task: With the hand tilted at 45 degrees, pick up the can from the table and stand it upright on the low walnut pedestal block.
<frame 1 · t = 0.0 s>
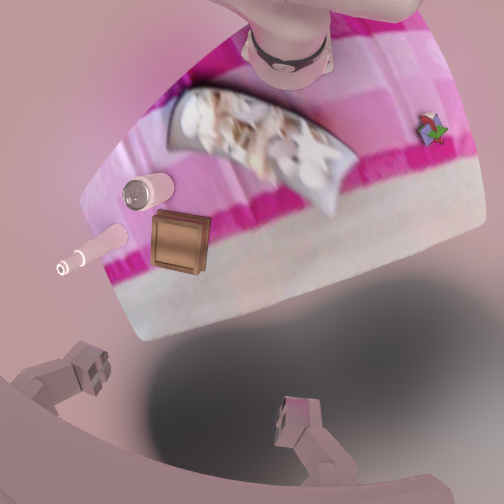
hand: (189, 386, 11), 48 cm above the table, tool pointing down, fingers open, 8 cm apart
pedestal: (182, 239, 60), on the table
pink bottle: (118, 234, 62), on the table
can: (162, 186, 57), on the table
geometric puzzle: (424, 131, 47), on the table
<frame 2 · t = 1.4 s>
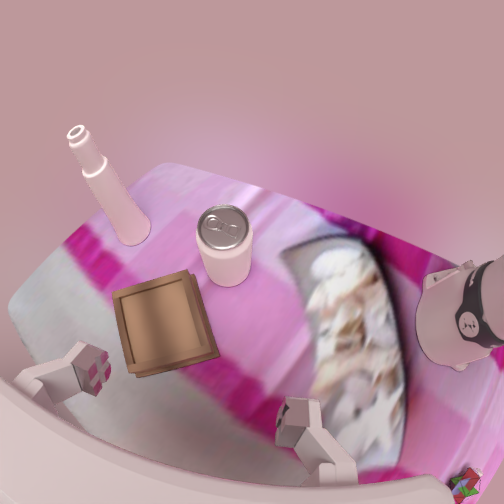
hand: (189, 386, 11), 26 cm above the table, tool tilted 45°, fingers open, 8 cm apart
pedestal: (166, 327, 36), on the table
pink bottle: (134, 230, 43), on the table
can: (228, 267, 41), on the table
geometric puzzle: (453, 482, 24), on the table
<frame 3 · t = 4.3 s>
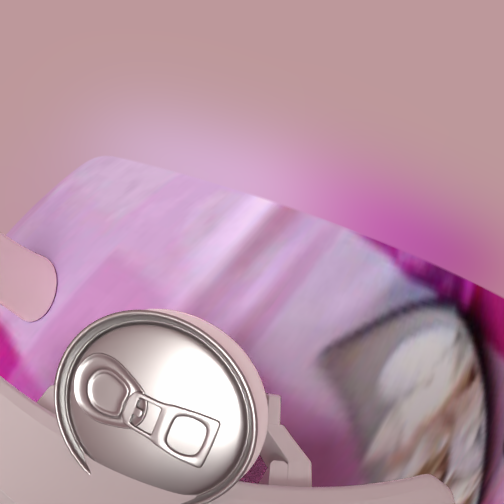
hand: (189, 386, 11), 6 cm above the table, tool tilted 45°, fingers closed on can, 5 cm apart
pink bottle: (34, 289, 18), on the table
can: (204, 390, 16), on the table, touching gripper
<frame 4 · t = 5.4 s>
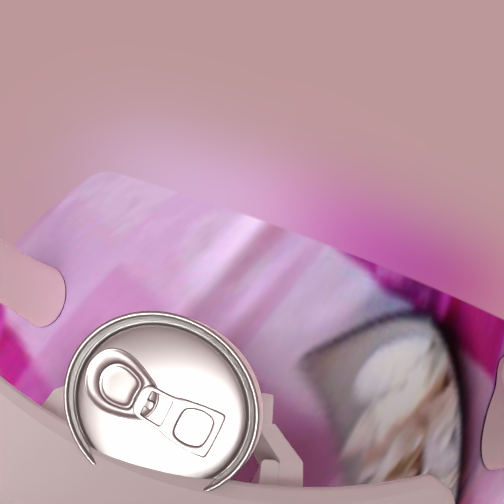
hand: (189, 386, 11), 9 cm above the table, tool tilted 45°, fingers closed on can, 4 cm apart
pink bottle: (44, 297, 20), on the table
can: (188, 400, 16), point 2 cm above the table, touching gripper
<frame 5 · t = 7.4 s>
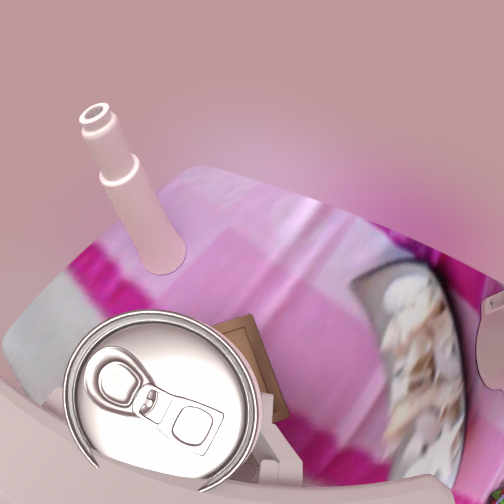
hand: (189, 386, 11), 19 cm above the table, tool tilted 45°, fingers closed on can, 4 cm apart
pedestal: (218, 382, 28), on the table
pink bottle: (163, 253, 34), on the table
can: (186, 401, 16), point 12 cm above the table, touching gripper
geometric puzzle: (493, 496, 16), on the table
when the fingers open (11 cm above the table, at t = 9.4 s): can stays where it is, resting on pedestal.
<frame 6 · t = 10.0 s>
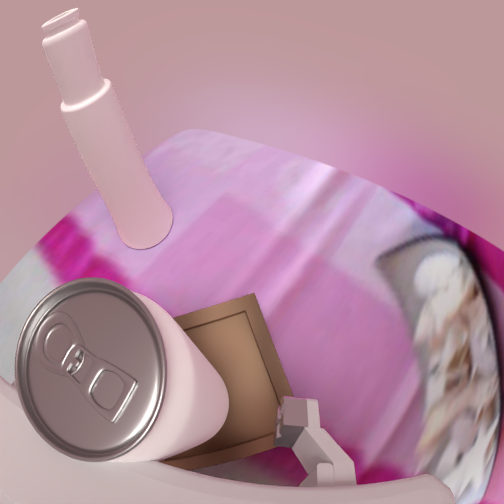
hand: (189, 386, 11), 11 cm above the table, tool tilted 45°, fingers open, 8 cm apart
pedestal: (210, 387, 21), on the table
pink bottle: (145, 224, 27), on the table
can: (182, 401, 16), point 5 cm above the table, touching gripper, pedestal
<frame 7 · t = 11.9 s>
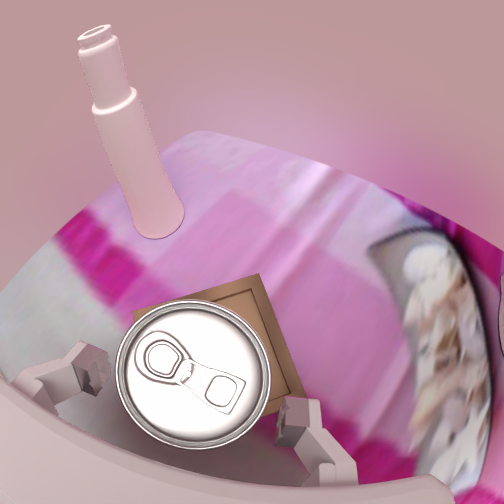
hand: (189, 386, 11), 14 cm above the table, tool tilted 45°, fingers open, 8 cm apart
pedestal: (219, 361, 24), on the table
pink bottle: (159, 216, 30), on the table
can: (196, 370, 20), point 4 cm above the table, touching pedestal
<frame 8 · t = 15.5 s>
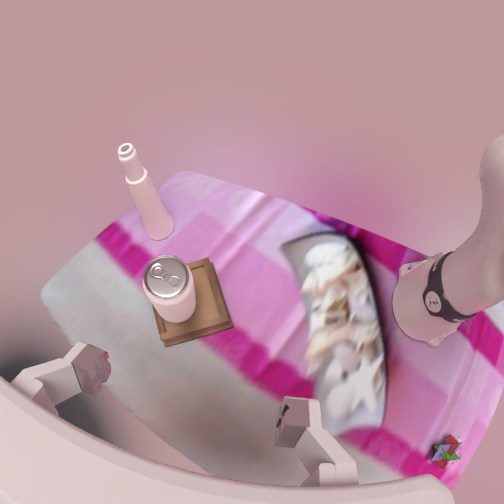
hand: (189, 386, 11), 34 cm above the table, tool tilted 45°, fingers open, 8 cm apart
pedestal: (189, 305, 47), on the table
pink bottle: (160, 227, 53), on the table
can: (176, 304, 42), point 4 cm above the table, touching pedestal
geometric puzzle: (436, 449, 35), on the table
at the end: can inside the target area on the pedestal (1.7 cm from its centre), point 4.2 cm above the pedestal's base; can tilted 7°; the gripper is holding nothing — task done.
